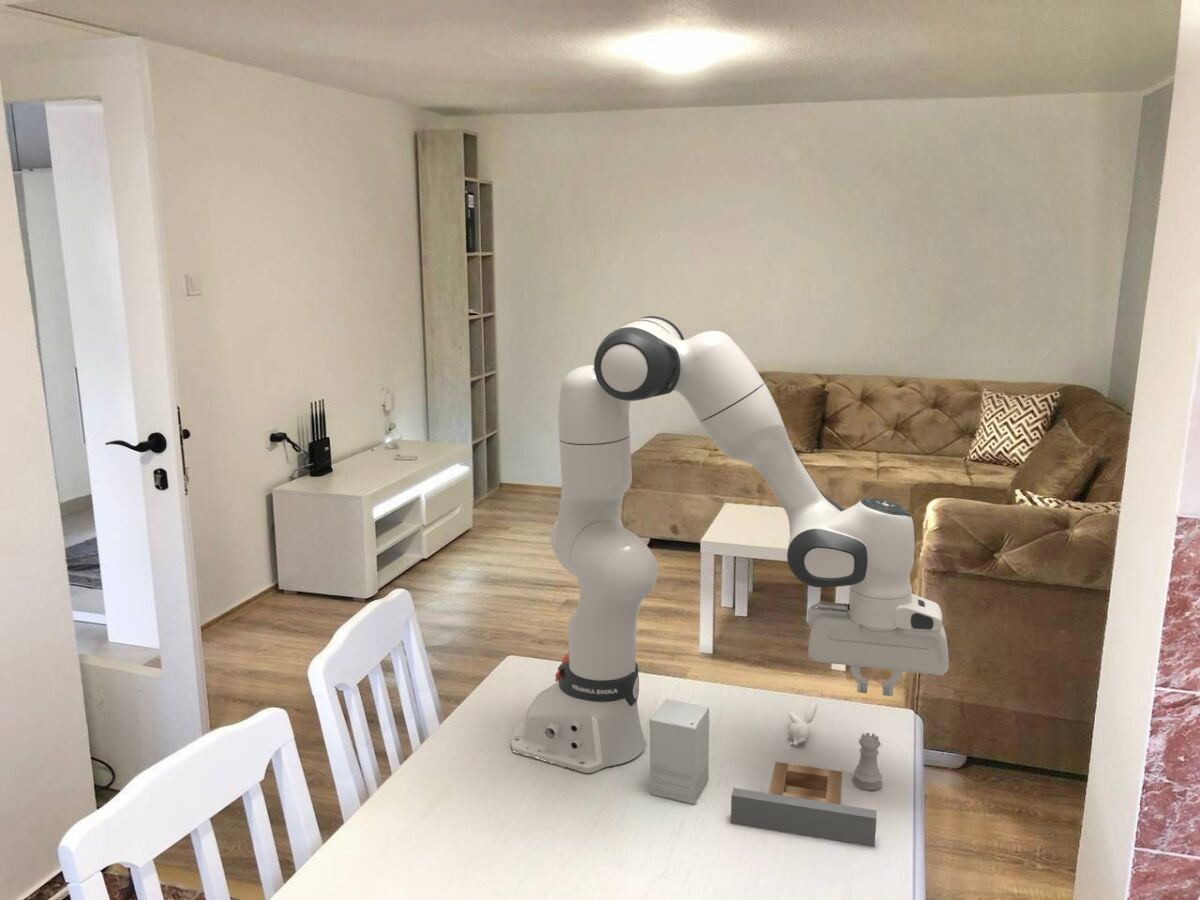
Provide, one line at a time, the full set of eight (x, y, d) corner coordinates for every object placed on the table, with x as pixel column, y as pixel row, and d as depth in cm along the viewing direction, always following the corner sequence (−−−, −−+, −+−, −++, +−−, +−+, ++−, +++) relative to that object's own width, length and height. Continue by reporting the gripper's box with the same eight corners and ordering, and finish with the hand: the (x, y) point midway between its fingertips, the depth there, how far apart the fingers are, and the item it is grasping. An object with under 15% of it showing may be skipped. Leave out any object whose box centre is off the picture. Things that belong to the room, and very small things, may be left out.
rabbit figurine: (776, 743, 156) (784, 705, 162) (790, 757, 157) (798, 718, 163) (804, 736, 152) (811, 696, 158) (819, 750, 153) (826, 710, 159)
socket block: (767, 819, 135) (768, 797, 134) (774, 782, 144) (775, 761, 144) (838, 830, 132) (839, 808, 131) (841, 792, 141) (842, 771, 141)
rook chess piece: (883, 793, 142) (886, 745, 140) (853, 790, 143) (855, 742, 141) (880, 777, 146) (883, 731, 144) (851, 774, 147) (854, 728, 145)
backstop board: (730, 823, 134) (731, 795, 134) (732, 815, 136) (733, 787, 135) (874, 847, 129) (876, 818, 128) (874, 838, 131) (876, 810, 130)
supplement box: (709, 780, 145) (711, 706, 143) (694, 806, 139) (695, 728, 136) (665, 770, 148) (666, 697, 146) (648, 794, 142) (648, 718, 139)
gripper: (806, 608, 138) (803, 693, 141) (953, 621, 132) (946, 710, 135) (809, 593, 144) (806, 675, 147) (950, 605, 138) (943, 691, 141)
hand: (874, 692), depth 141 cm, fingers open, 2 cm apart
